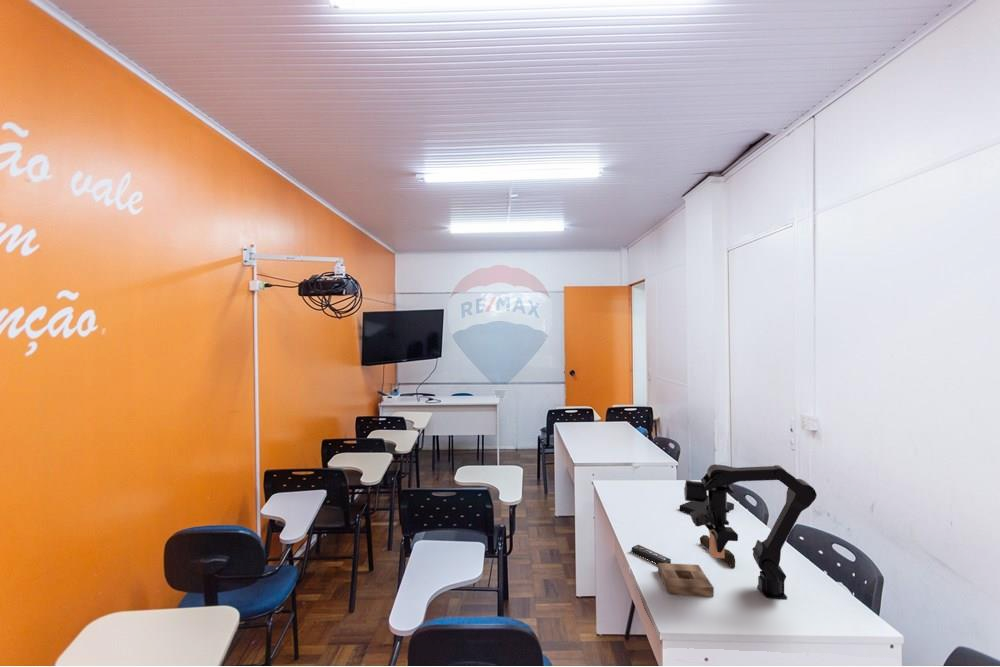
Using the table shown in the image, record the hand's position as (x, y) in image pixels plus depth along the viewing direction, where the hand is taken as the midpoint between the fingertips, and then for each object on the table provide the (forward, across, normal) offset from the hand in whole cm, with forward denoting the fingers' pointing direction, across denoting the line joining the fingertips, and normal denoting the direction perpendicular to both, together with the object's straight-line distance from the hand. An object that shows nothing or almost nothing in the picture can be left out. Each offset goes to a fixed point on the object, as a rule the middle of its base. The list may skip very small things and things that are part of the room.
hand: (716, 549), depth 150 cm
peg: (+2, 0, 0) cm, 2 cm away
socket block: (+12, 0, -11) cm, 16 cm away
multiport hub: (+13, -16, -18) cm, 27 cm away
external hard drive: (+13, -66, +20) cm, 70 cm away
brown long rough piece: (+13, -21, +9) cm, 26 cm away
